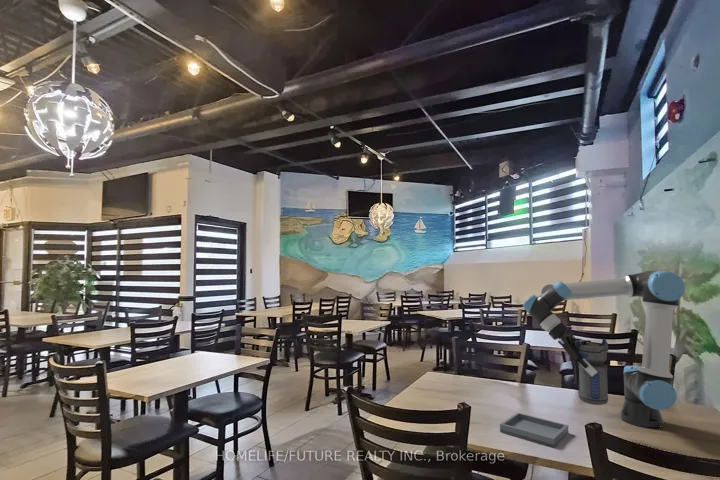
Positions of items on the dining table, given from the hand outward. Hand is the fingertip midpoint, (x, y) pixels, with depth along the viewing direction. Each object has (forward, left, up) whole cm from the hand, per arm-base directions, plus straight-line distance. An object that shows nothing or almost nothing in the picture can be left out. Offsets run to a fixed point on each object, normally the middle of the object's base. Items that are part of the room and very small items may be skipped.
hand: (598, 371), depth 157 cm
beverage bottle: (+3, 0, -12) cm, 13 cm away
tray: (+20, +15, -24) cm, 35 cm away
